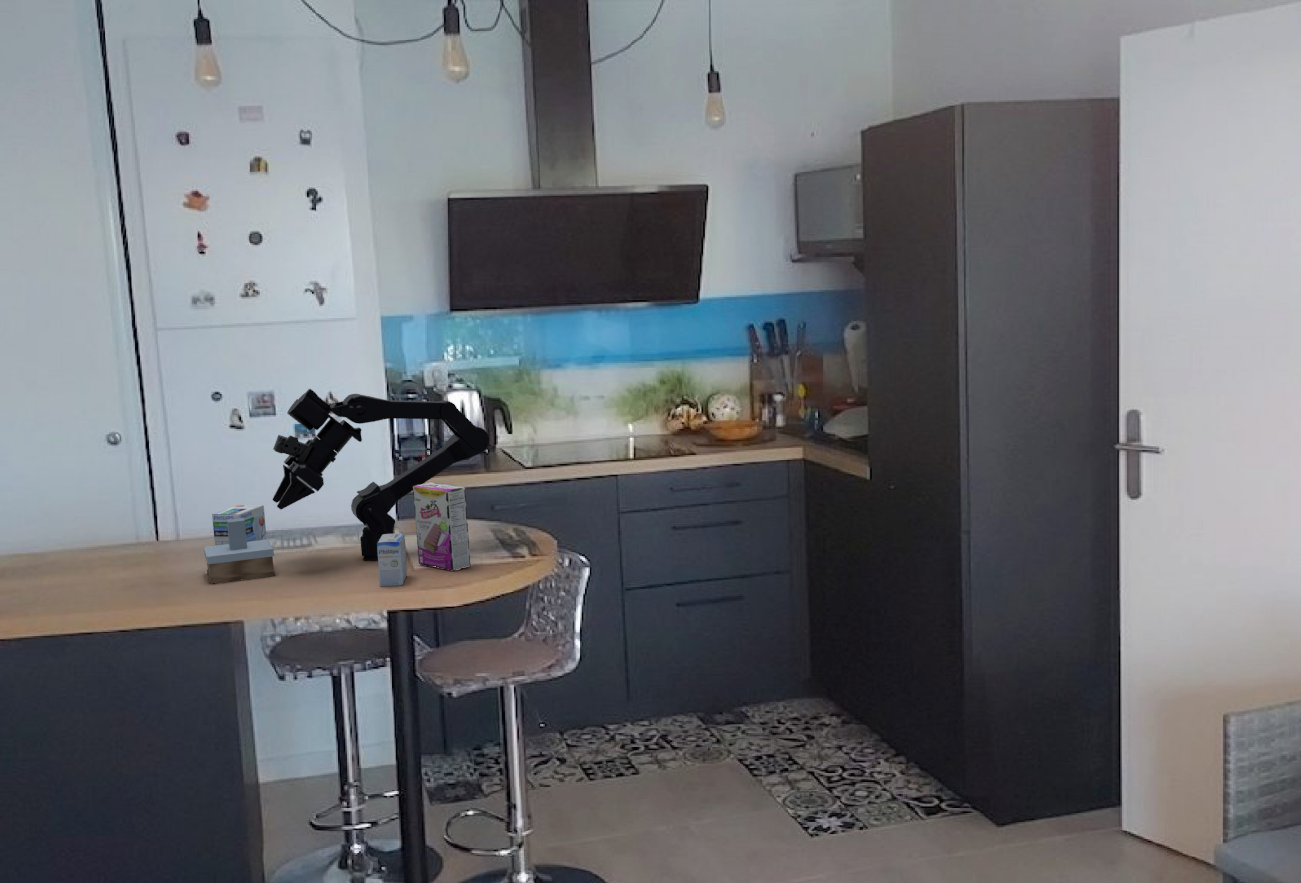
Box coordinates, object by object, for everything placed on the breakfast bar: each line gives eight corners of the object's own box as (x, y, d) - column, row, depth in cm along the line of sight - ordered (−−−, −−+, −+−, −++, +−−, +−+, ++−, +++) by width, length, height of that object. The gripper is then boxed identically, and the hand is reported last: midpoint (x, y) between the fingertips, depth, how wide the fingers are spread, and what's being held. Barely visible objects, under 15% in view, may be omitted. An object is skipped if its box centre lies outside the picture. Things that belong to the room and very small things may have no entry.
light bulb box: (244, 564, 269) (239, 513, 268) (215, 564, 271) (210, 514, 269) (269, 552, 280) (264, 504, 278) (240, 552, 281) (236, 504, 280)
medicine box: (384, 577, 251) (381, 534, 250) (407, 576, 252) (404, 532, 251) (379, 587, 244) (376, 542, 243) (403, 585, 244) (400, 540, 243)
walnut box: (269, 565, 267) (268, 546, 266) (274, 575, 257) (273, 556, 257) (207, 573, 262) (205, 554, 262) (210, 584, 253) (208, 564, 252)
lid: (268, 546, 266) (265, 512, 265) (274, 556, 257) (270, 520, 256) (204, 554, 262) (201, 519, 261) (207, 564, 252) (204, 528, 251)
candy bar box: (417, 565, 260) (411, 485, 258) (436, 560, 264) (431, 481, 262) (452, 572, 253) (446, 490, 251) (471, 567, 257) (466, 486, 254)
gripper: (290, 416, 269) (240, 474, 267) (300, 424, 252) (248, 486, 249) (332, 449, 273) (283, 506, 271) (345, 459, 256) (293, 521, 253)
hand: (276, 504), depth 261 cm, fingers open, 9 cm apart
